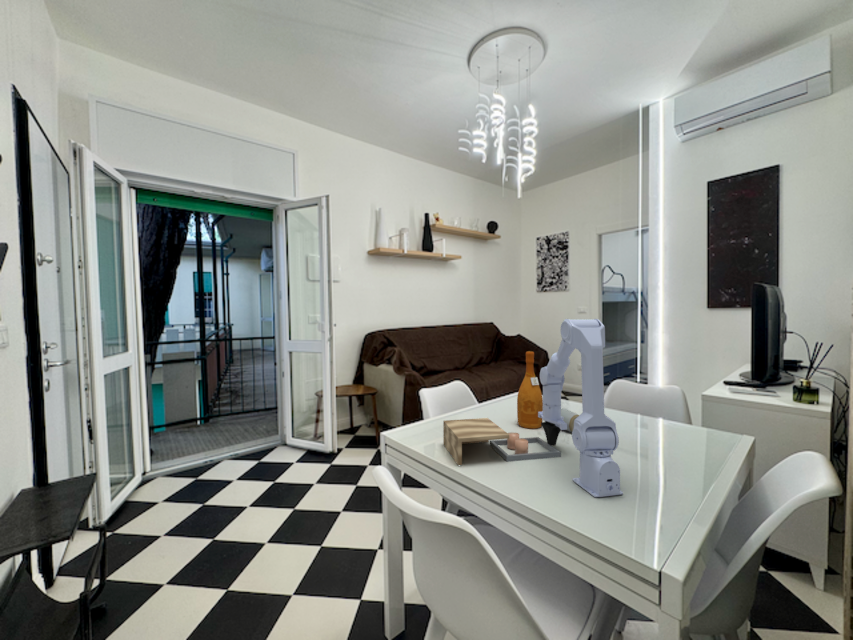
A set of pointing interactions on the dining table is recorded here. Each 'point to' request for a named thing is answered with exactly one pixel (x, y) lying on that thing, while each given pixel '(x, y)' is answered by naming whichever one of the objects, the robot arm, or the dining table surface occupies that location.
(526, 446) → the pink round cylinder
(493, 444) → the tray
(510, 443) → the peg
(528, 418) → the wine bottle
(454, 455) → the wooden l-shaped bracket
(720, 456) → the dining table surface
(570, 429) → the ceramic mug
